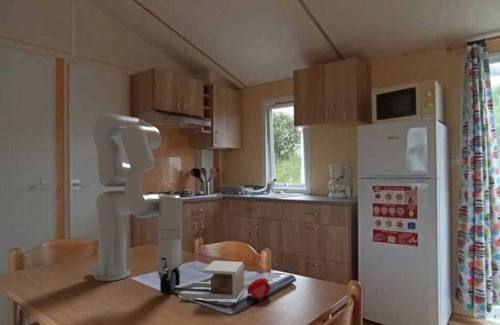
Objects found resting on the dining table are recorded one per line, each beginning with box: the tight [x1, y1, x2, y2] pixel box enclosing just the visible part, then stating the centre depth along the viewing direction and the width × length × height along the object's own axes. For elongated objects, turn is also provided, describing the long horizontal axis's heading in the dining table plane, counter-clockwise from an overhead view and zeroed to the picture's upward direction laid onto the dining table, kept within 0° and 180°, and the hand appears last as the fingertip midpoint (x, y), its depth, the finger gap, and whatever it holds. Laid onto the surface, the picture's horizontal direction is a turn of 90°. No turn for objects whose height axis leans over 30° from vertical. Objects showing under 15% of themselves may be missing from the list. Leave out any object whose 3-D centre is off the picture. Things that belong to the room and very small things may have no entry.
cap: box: [246, 277, 272, 302], centre depth 108 cm, size 8×6×6 cm
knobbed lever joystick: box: [164, 272, 233, 295], centre depth 112 cm, size 23×6×6 cm, turn 79°
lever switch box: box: [180, 260, 245, 301], centre depth 111 cm, size 17×11×9 cm, turn 79°
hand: (170, 288), depth 114 cm, fingers open, 6 cm apart
